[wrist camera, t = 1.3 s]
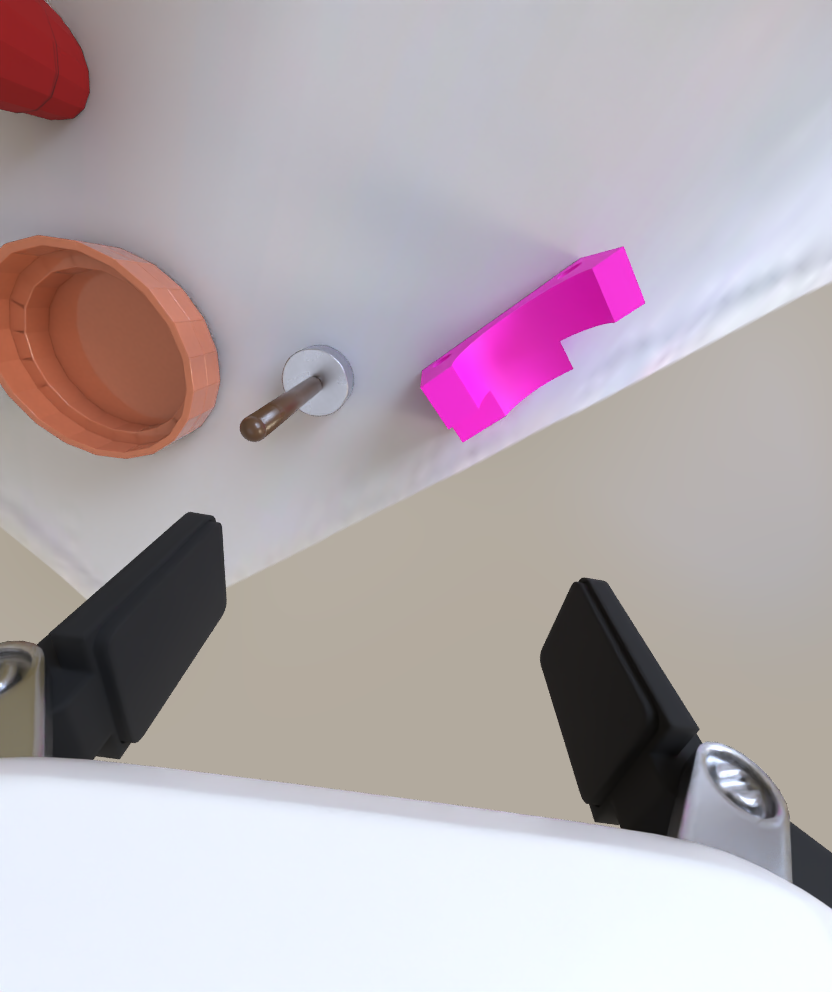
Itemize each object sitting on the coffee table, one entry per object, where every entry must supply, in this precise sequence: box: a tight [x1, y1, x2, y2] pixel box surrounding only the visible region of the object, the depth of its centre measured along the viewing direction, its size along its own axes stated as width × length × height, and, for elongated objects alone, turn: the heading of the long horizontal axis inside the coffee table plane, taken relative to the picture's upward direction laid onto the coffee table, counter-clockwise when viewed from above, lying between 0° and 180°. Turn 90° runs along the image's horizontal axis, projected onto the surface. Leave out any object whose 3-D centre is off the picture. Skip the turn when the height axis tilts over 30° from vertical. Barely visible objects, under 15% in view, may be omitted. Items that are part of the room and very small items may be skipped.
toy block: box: [420, 246, 645, 442], centre depth 30 cm, size 15×6×8 cm, turn 125°
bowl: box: [0, 235, 220, 459], centre depth 32 cm, size 16×16×5 cm
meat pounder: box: [240, 345, 354, 442], centre depth 28 cm, size 6×6×16 cm
